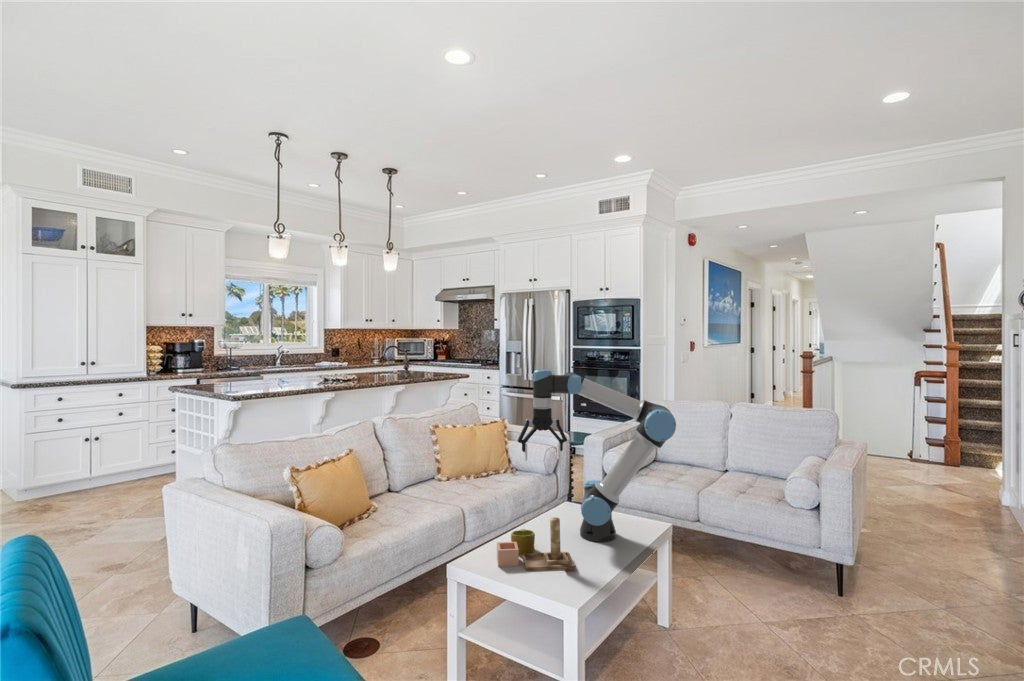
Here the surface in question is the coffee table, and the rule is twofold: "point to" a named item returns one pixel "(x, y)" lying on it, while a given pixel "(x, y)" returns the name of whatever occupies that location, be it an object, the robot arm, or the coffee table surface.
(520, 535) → the mug
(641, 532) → the coffee table surface
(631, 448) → the robot arm
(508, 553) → the pink hollow box
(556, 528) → the dowel
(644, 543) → the coffee table surface
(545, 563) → the tray
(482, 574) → the coffee table surface
